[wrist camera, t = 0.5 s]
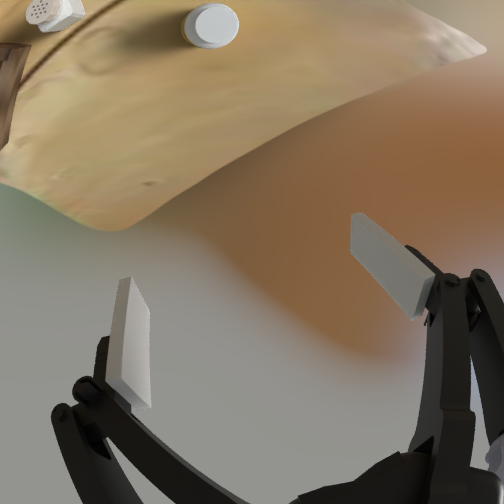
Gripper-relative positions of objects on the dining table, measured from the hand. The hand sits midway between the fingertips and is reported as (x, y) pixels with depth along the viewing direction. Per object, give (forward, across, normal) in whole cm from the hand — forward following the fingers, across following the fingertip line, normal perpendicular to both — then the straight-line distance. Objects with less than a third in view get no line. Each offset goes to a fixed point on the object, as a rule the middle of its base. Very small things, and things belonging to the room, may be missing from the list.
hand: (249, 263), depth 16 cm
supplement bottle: (+23, +3, +18) cm, 29 cm away
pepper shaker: (+21, -12, +26) cm, 35 cm away
